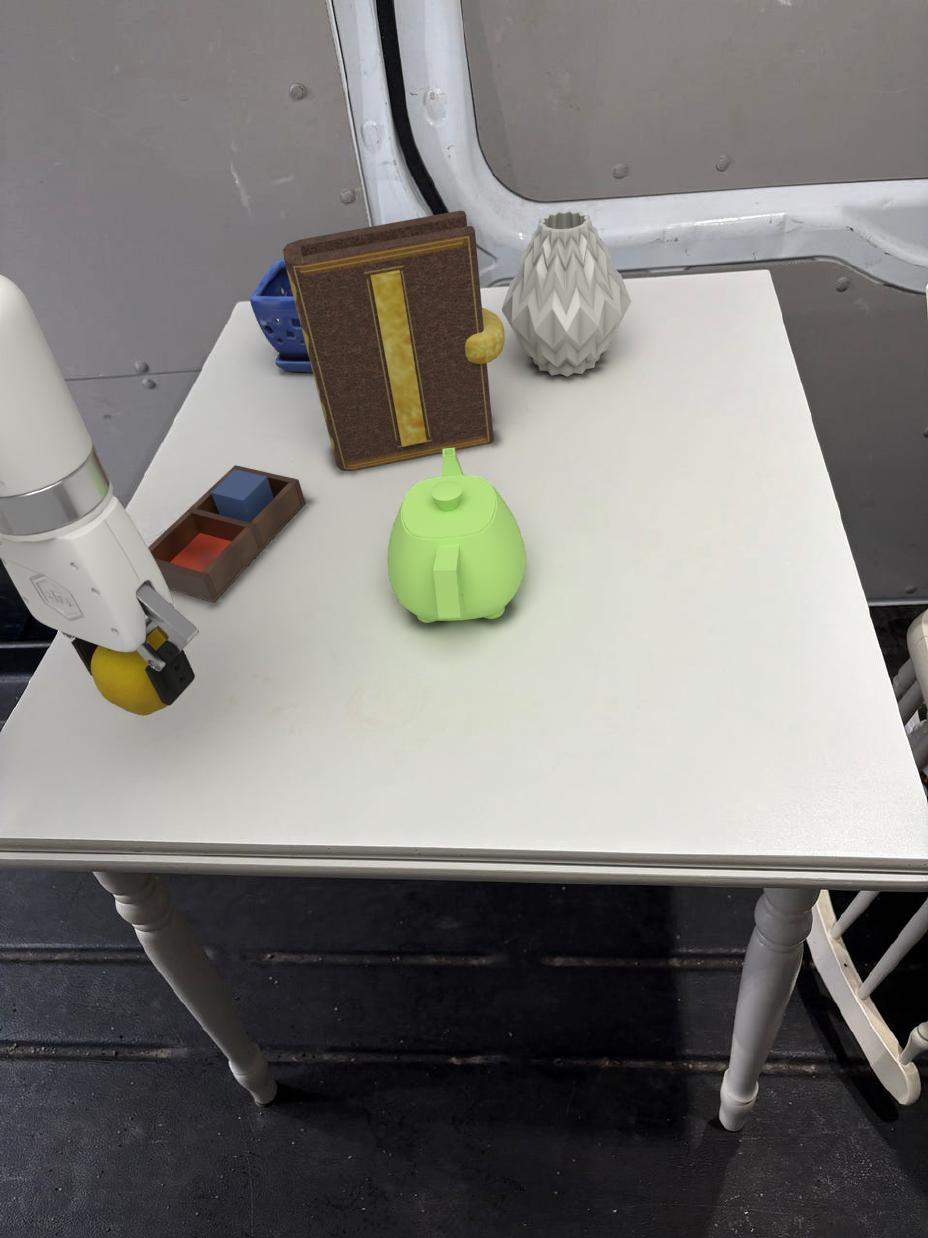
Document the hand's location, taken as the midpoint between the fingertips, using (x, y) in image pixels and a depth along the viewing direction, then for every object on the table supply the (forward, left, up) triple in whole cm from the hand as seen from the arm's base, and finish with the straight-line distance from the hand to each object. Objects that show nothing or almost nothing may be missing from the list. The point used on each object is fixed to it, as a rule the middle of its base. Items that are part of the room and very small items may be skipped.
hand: (143, 676), depth 64 cm
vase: (+6, +73, -12) cm, 74 cm away
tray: (-16, +26, -12) cm, 32 cm away
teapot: (+12, +28, -12) cm, 33 cm away
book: (-4, +50, -12) cm, 51 cm away
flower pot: (-28, +65, -12) cm, 71 cm away
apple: (0, 0, -3) cm, 3 cm away
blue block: (-16, +30, -11) cm, 36 cm away
